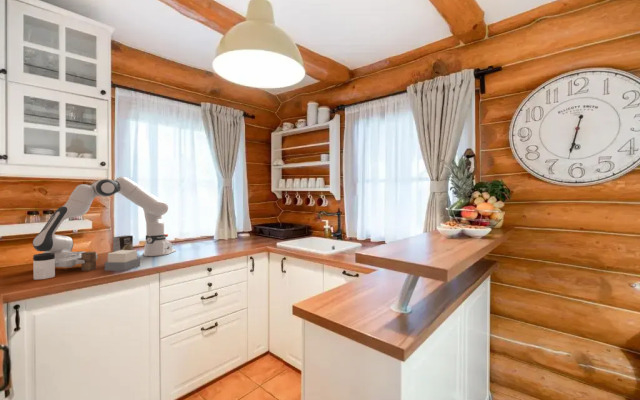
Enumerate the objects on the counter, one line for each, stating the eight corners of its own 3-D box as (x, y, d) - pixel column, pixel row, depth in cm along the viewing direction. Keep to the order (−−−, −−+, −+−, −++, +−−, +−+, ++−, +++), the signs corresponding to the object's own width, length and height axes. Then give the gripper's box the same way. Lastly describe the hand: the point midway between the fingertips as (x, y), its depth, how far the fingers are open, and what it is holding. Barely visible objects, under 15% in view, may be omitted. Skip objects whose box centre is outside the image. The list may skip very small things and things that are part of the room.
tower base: (121, 265, 173) (121, 257, 172) (140, 266, 171) (139, 258, 171) (104, 271, 161) (104, 262, 160) (124, 271, 159) (124, 262, 159)
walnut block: (88, 268, 164) (88, 251, 164) (95, 269, 164) (95, 251, 163) (81, 270, 160) (81, 253, 159) (88, 271, 159) (88, 253, 159)
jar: (27, 280, 142) (27, 256, 142) (39, 275, 150) (39, 253, 149) (49, 279, 144) (48, 255, 144) (59, 274, 152) (59, 252, 152)
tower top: (120, 258, 171) (120, 250, 171) (137, 258, 170) (136, 250, 170) (107, 262, 161) (107, 253, 161) (125, 262, 160) (124, 253, 160)
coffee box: (121, 263, 178) (120, 237, 178) (112, 262, 179) (112, 237, 179) (133, 259, 187) (133, 235, 187) (125, 259, 188) (125, 235, 188)
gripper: (49, 258, 153) (72, 258, 151) (85, 250, 173) (105, 251, 171) (49, 269, 153) (72, 270, 151) (85, 260, 173) (105, 261, 171)
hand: (90, 260), depth 161 cm, fingers closed on walnut block, 4 cm apart
